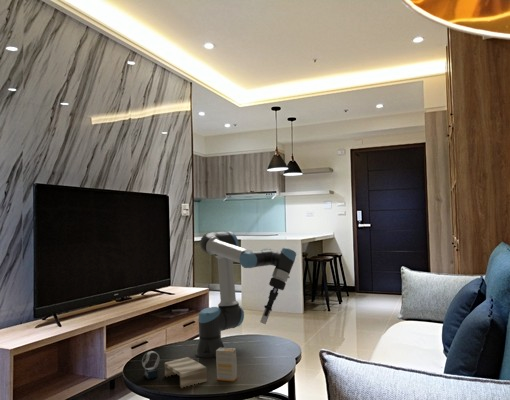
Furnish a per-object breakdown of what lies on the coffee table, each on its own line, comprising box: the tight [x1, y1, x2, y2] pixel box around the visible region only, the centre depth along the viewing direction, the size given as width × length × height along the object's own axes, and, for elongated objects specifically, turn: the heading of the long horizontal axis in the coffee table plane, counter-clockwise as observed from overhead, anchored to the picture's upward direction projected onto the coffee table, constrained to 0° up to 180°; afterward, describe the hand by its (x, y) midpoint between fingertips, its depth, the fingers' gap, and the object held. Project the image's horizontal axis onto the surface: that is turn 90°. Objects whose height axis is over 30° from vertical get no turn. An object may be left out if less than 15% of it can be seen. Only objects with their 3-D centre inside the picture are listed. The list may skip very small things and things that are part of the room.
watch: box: [141, 350, 161, 380], centre depth 184 cm, size 6×8×11 cm
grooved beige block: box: [164, 356, 208, 389], centre depth 180 cm, size 18×12×6 cm, turn 36°
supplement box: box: [215, 347, 238, 382], centre depth 178 cm, size 8×5×13 cm, turn 71°
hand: (262, 323), depth 184 cm, fingers open, 13 cm apart
